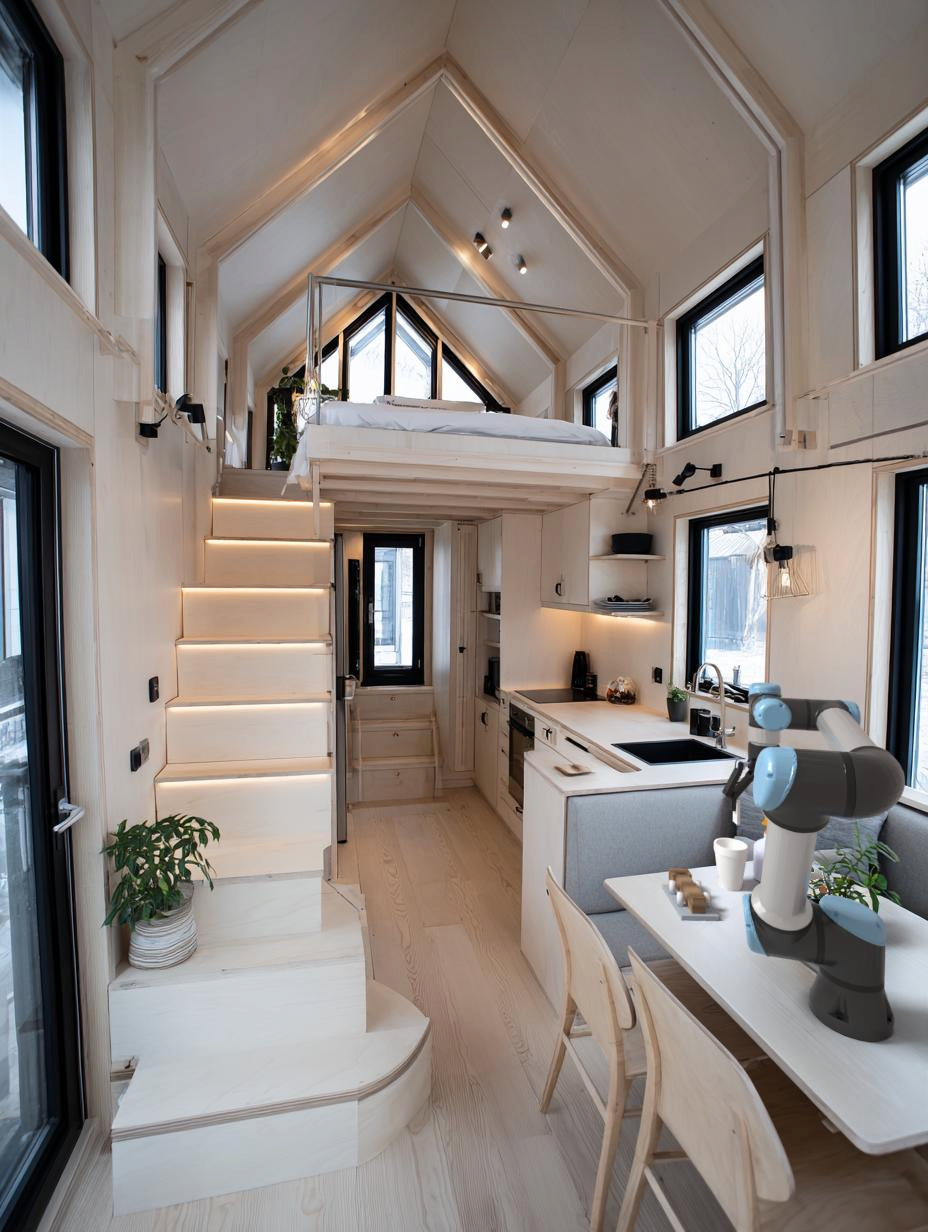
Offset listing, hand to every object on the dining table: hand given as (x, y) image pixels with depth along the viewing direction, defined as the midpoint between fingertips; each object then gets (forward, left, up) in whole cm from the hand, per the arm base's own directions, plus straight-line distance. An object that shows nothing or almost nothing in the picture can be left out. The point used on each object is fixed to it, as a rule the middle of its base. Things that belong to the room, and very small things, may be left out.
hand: (762, 823), depth 159 cm
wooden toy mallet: (+14, +14, -28) cm, 34 cm away
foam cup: (+25, -2, -29) cm, 38 cm away
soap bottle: (+30, -16, -29) cm, 45 cm away
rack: (+14, +14, -29) cm, 35 cm away
